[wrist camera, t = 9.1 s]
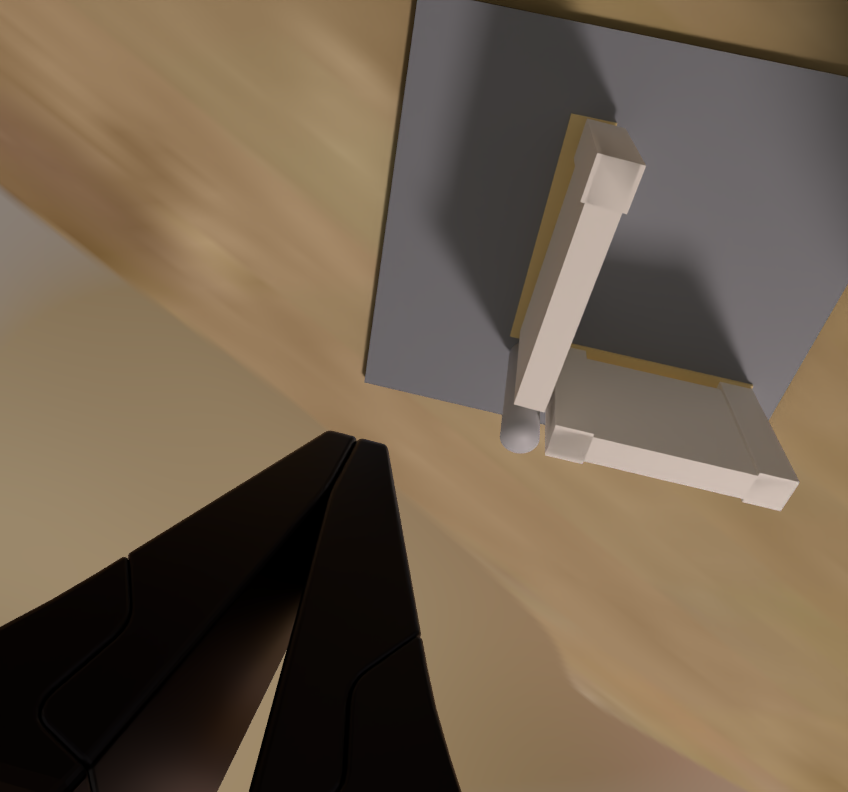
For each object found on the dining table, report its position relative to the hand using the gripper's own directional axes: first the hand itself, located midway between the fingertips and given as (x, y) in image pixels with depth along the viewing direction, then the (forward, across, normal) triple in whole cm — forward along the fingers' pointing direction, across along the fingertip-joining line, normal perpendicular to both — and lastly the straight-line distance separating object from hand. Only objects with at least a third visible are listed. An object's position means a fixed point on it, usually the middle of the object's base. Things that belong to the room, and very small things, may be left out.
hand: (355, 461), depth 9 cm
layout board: (+12, -4, 0) cm, 13 cm away
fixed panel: (+12, -7, +4) cm, 14 cm away
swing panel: (+11, -3, 0) cm, 12 cm away
